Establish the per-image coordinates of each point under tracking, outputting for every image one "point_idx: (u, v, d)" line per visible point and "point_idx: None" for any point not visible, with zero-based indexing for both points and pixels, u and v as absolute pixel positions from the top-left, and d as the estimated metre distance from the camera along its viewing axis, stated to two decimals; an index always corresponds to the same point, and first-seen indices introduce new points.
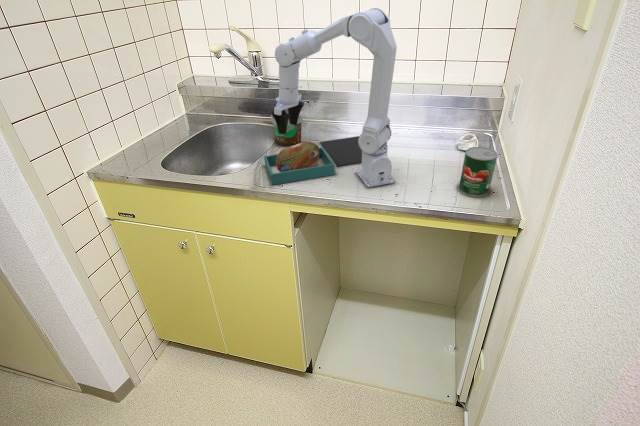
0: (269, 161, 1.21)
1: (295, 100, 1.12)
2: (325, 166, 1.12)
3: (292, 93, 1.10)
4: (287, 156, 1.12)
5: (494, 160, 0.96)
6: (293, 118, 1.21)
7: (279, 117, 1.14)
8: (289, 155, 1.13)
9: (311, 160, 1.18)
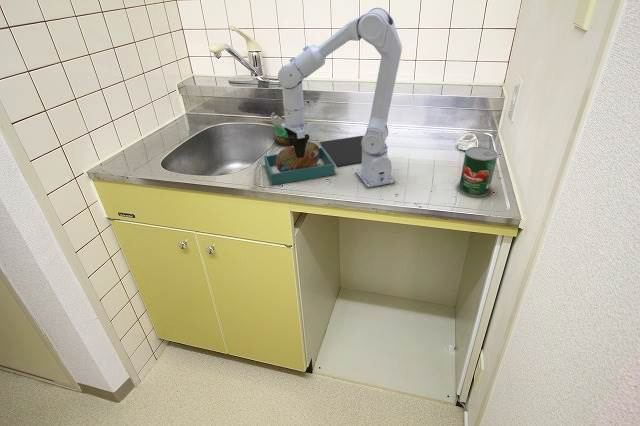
0: (269, 161, 1.21)
1: (304, 119, 1.09)
2: (325, 166, 1.12)
3: (303, 113, 1.07)
4: (287, 156, 1.12)
5: (494, 160, 0.96)
6: None
7: (296, 141, 1.08)
8: (289, 155, 1.13)
9: (311, 160, 1.18)
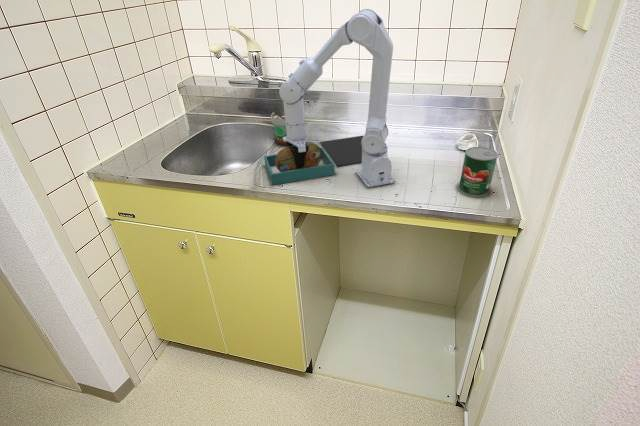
0: (269, 161, 1.21)
1: (305, 133, 1.11)
2: (325, 166, 1.12)
3: (304, 127, 1.09)
4: (287, 156, 1.13)
5: (494, 160, 0.96)
6: None
7: (296, 152, 1.12)
8: (289, 155, 1.13)
9: (312, 161, 1.18)
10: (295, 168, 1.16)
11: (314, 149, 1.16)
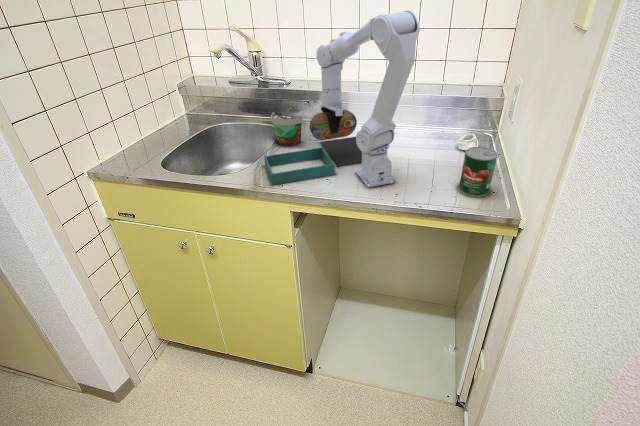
0: (269, 161, 1.21)
1: None
2: (325, 166, 1.12)
3: (340, 92, 1.12)
4: (321, 120, 1.16)
5: (494, 160, 0.96)
6: None
7: (332, 117, 1.15)
8: (323, 120, 1.16)
9: (346, 129, 1.20)
10: (328, 134, 1.19)
11: (349, 117, 1.18)
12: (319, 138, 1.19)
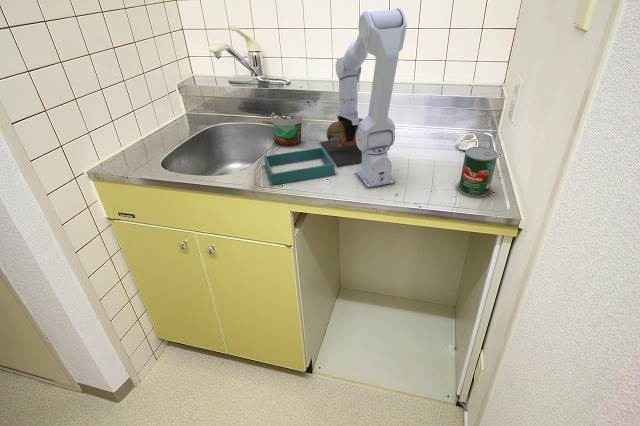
0: (269, 161, 1.21)
1: None
2: (325, 166, 1.12)
3: (356, 102, 1.18)
4: (337, 129, 1.22)
5: (494, 160, 0.96)
6: None
7: (348, 126, 1.21)
8: (339, 128, 1.22)
9: None
10: (344, 141, 1.25)
11: None
12: (335, 145, 1.25)
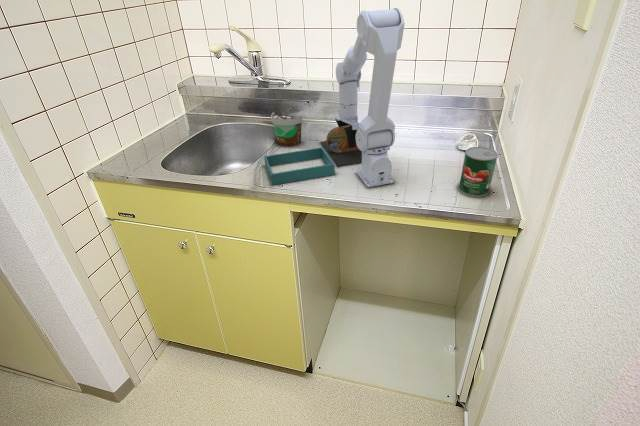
0: (269, 161, 1.21)
1: None
2: (325, 166, 1.12)
3: (356, 107, 1.19)
4: (337, 134, 1.24)
5: (494, 160, 0.96)
6: None
7: (350, 133, 1.20)
8: (339, 134, 1.24)
9: None
10: (344, 147, 1.26)
11: None
12: (335, 151, 1.26)
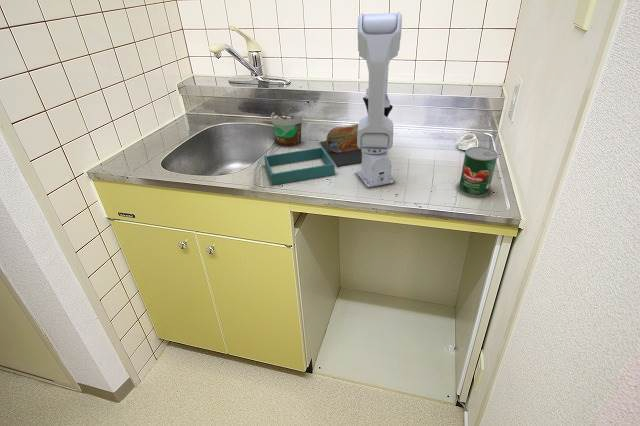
0: (269, 161, 1.21)
1: (386, 91, 1.18)
2: (325, 166, 1.12)
3: (386, 84, 1.16)
4: (337, 134, 1.24)
5: (494, 160, 0.96)
6: None
7: None
8: (339, 134, 1.24)
9: None
10: (344, 147, 1.26)
11: None
12: (335, 151, 1.26)
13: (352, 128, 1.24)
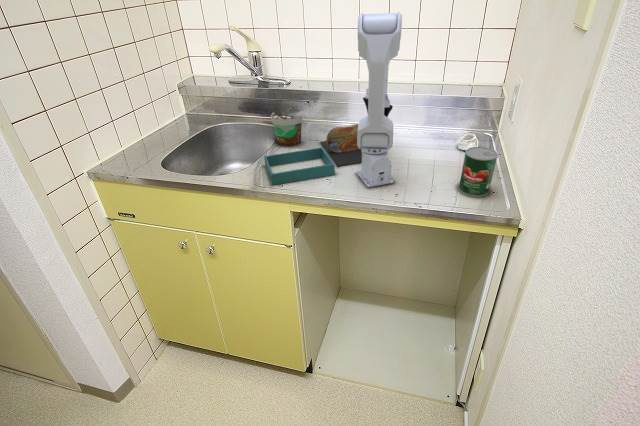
0: (269, 161, 1.21)
1: (386, 91, 1.18)
2: (325, 166, 1.12)
3: (386, 84, 1.16)
4: (337, 134, 1.24)
5: (494, 160, 0.96)
6: None
7: None
8: (339, 134, 1.24)
9: None
10: (344, 147, 1.26)
11: None
12: (335, 151, 1.26)
13: (352, 128, 1.24)
